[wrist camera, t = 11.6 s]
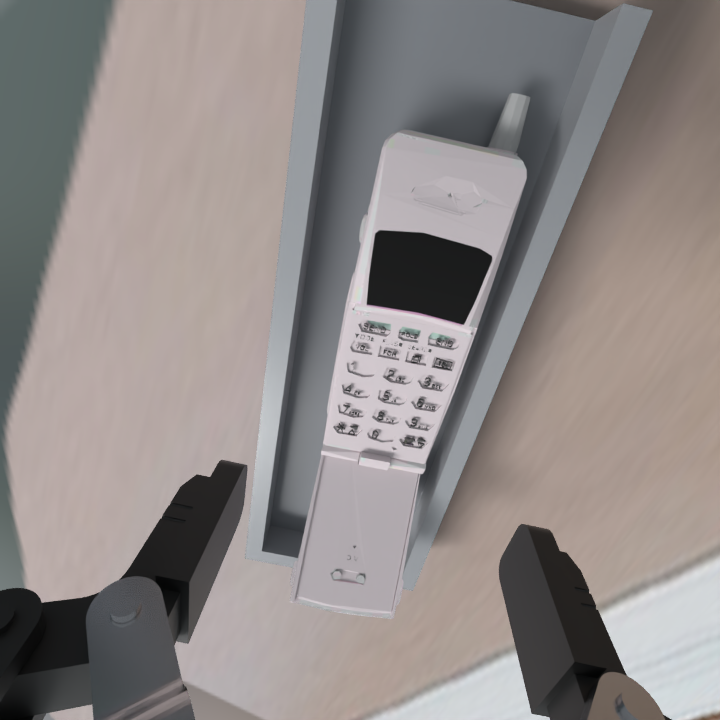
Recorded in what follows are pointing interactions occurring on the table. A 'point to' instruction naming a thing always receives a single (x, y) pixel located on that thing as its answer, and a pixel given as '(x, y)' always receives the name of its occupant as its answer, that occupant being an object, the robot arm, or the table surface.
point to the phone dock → (353, 195)
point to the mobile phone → (403, 353)
